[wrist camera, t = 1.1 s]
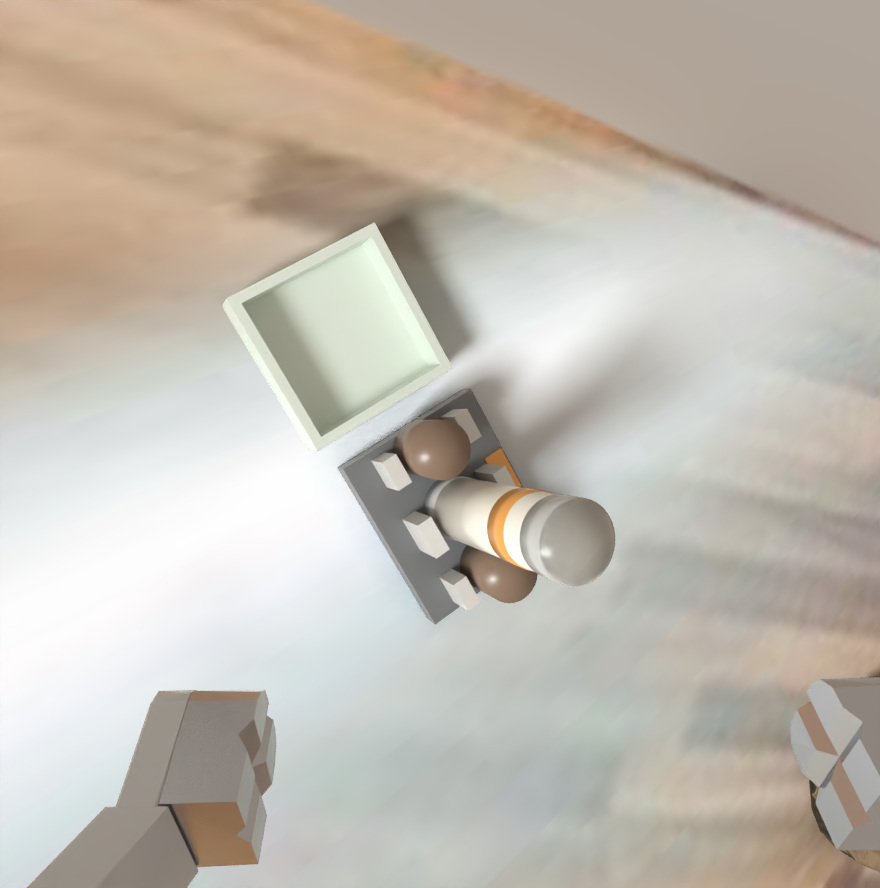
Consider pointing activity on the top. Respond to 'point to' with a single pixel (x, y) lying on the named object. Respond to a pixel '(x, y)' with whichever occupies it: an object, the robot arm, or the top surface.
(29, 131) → the top surface
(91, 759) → the top surface
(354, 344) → the tray
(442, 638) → the top surface
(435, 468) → the cylinder
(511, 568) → the cylinder
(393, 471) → the panel
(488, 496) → the marked fuse
